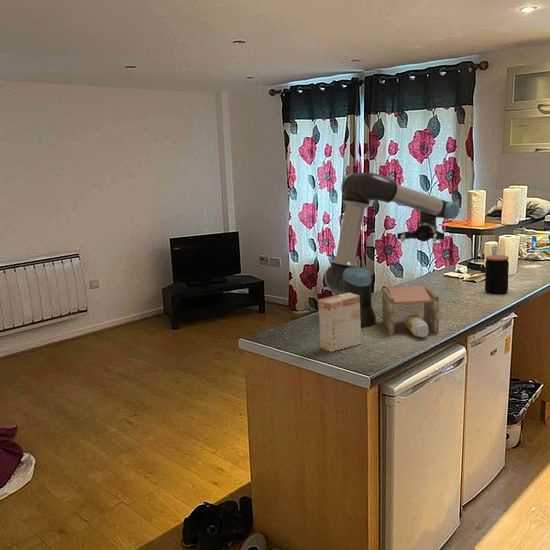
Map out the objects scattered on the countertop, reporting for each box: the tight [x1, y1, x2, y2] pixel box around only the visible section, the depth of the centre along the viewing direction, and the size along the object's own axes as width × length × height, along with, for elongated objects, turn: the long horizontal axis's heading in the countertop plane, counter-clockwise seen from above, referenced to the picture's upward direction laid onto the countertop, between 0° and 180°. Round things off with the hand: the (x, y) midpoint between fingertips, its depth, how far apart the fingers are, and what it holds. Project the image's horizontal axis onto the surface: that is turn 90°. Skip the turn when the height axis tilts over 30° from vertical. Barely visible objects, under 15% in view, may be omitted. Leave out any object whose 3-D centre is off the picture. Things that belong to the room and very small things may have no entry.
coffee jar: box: [484, 254, 510, 295], centre depth 274 cm, size 11×11×18 cm
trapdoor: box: [386, 285, 432, 305], centre depth 227 cm, size 15×16×1 cm
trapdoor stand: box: [381, 285, 440, 336], centre depth 228 cm, size 19×20×15 cm
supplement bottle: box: [405, 314, 430, 338], centre depth 219 cm, size 7×7×13 cm
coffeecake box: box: [318, 293, 362, 351], centre depth 209 cm, size 15×7×20 cm, turn 123°
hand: (417, 239), depth 235 cm, fingers open, 13 cm apart
